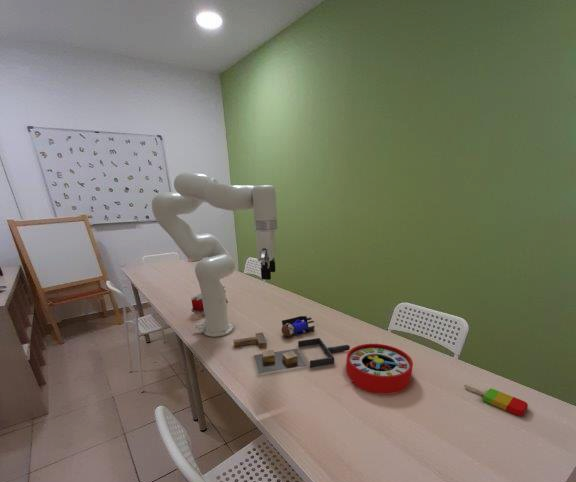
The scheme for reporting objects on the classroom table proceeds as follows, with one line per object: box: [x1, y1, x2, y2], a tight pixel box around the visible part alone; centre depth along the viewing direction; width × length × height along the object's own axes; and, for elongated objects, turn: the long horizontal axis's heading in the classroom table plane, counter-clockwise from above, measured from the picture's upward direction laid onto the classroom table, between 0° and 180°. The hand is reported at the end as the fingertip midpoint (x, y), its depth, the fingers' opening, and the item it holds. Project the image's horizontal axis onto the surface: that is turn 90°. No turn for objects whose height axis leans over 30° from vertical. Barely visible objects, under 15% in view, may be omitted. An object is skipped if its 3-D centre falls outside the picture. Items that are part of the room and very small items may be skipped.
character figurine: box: [281, 315, 316, 337], centre depth 123 cm, size 8×7×15 cm
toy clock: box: [345, 343, 414, 395], centre depth 96 cm, size 20×6×20 cm
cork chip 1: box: [261, 349, 275, 363], centre depth 105 cm, size 4×4×2 cm
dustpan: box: [297, 337, 351, 368], centre depth 108 cm, size 18×15×3 cm
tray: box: [254, 348, 307, 374], centre depth 105 cm, size 16×12×1 cm
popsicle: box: [463, 384, 529, 417], centre depth 84 cm, size 6×15×2 cm, turn 42°
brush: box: [233, 332, 268, 349], centre depth 116 cm, size 12×9×3 cm
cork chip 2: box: [282, 351, 298, 365], centre depth 103 cm, size 4×4×2 cm
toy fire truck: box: [190, 286, 229, 315], centre depth 151 cm, size 9×19×10 cm, turn 148°
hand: (268, 275), depth 107 cm, fingers open, 9 cm apart
